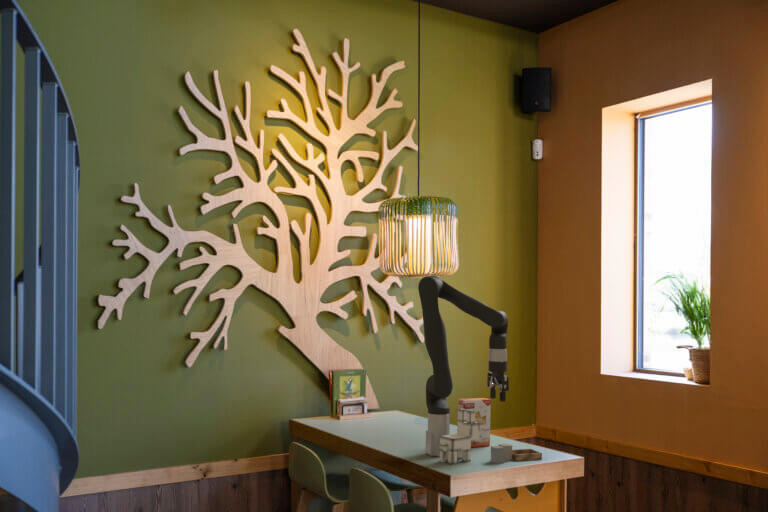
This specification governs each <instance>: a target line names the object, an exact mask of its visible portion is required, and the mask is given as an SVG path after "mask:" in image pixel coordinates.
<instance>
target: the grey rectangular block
mask: <svg viewBox="0 0 768 512" xmlns="http://www.w3.org/2000/svg"><path fill="white" fill-rule="evenodd" d="M491 461H492V463H493V464H504V463H505V461H504V447H501V446H498V445H490V462H491Z"/></svg>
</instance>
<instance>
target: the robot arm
mask: <svg viewBox="0 0 768 512" xmlns="http://www.w3.org/2000/svg"><path fill="white" fill-rule="evenodd" d="M417 289H418V294H419V300H420V306H421V310H422V311H421V313H422V322H423V335H424V344H425V348H426V352H427V354H428V357H429V360H430V362H431V364H432V373H433V374H432V375H430V376H429V377H428V378H427V380H426V382H425V403H426V408H427V430H425V454H426V455H428V456H429V457H440V450H439V448H440V436H444V435H450V428H451V427H450V424H451V423H450V421H451V419H450V417H451V416H450V414H451V413H450V412H451V407H450V406H449V404H448V402H447V398H448V397H450V395H451V394H452V392H453V388H454V384H453V378H452V375H451V370H450V369H451V368H450V365H449V364H450V362H449V353H448V352H449V351H448V344H447V343H448V341H447V329H446V326H445V322H444V319H443V318H442V315H441V313H440V312H441V311H440V309H439V299H441V300H445V301H446V302H449V303H451V304H452V305H453V306H455V307H456V308H458V309H459V310H460V311H462V312H464V313H466V314H467V315H469V316H472V317H473V318H475V319H477V320H479V321H480V322H483V323H484V324H486V325H488V326H489V327H491V330H490V331H491V332H490V335H489V339H488V348H489V349H488V359H487V361H488V366H487V367H488V372H487V379H486V380H487V382H486V386H487V388H489V395H490V397H489V399H491V400H492V399H496V397H497V389H496V388H498V389H499V402H501V403H502V402H504V403H505V402H506V400H507V399H506V395H507V394H506V393H507V392H509V389H510V387H509V383H510V382H509V375H505V373H506V372H507V371H508V350H507V335H508V328H509V327H508V326H509V317H508V315H507V314H506V312H505V311H503V310H497V309H494V308H492V307H490V306H488V305H487V304H486V303H485V302H483V301H481V300H478V299H477V298H474V297H472V296H470V295H468V294H466V293H464V292H462V291H461V290H458V289H456V288H455V287H453V286H451V285H450V284H449V283H448V282H446V281H444V280H443V279H442V278H441V277H439V276H437V275H428V276H423V277H422V278H421V279H420V280H419V281H418V286H417Z"/></svg>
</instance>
